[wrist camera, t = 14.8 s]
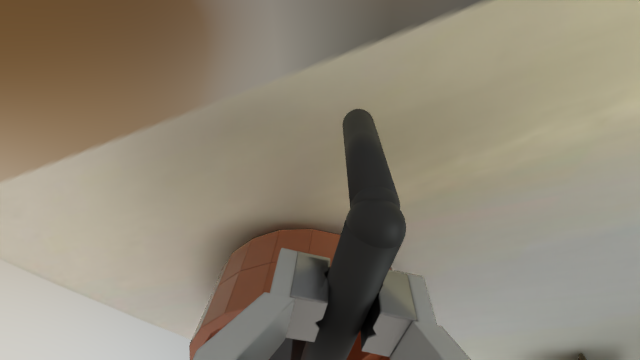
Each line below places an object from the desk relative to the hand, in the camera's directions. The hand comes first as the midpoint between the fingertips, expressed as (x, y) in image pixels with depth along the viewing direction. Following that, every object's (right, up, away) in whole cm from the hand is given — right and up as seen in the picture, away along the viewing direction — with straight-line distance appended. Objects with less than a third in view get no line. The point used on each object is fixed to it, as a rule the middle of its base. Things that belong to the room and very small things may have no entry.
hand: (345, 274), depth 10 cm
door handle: (-1, -1, +7) cm, 7 cm away
